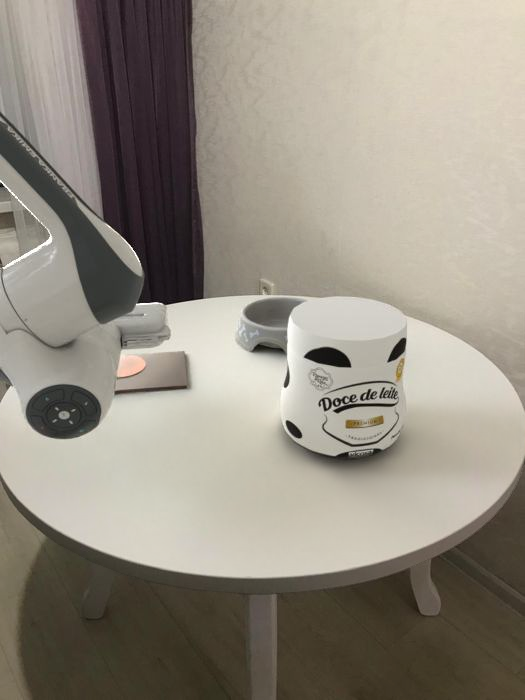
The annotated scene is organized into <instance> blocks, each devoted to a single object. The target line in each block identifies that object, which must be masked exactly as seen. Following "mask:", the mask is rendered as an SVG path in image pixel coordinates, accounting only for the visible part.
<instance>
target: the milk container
mask: <svg viewBox="0 0 525 700" xmlns="http://www.w3.org/2000/svg"><path fill="white" fill-rule="evenodd" d="M407 318H408V317H406V316H405V314H404V313H403V312H402V311H401V310H400V309H398V308H396V307H394V306H393V305H390V304H389V303H385V302H382V301H379V300H375V299H372V298H365V297H357V296H336V295H335V296H325V297H317V298H314V299H313V298H312V299H310V300H308V301H306V302H303V303H301V304H300V305H298V306H296V307H295V308H294V309H293V310H292V312H291V314H290V317H289V322H288V330H287V336H288V343H287V355H286V356H287V361H286V362H287V366H286V368H287V369H286V375H285V379H284V382H283V385H282V387H281V390H280V391H281V392H280V395H279V411H280V412H279V413H280V419H281V422H282V426H283V428H284V430H285V432H286V434H287V435H288V437H289V438H290V439H291V440H292V441H293V442H294V443H296V444H297V445H298V446H300V447H301V448H303V449H306V450H307V451H310V452H312V453H313V454H317V455H319V456H325V457H328V458H333V459H351V460H354V459H359V458H366V457H371V456H374V455H377V454H379V453H381V452H383V451H385V450H387V449H389V448H390V447H391V446H392V445H393V444H394V443H395V442H396V441H397V439H398V438H399V436H400V434H401V432H402V429H403V426H404V424H405V419H406V413H407V399H406V395H405V389H404V369H405V364H406V358H407V357H406V355H407V340H408V319H407Z"/></svg>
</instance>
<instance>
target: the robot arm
mask: <svg viewBox="0 0 525 700" xmlns="http://www.w3.org/2000/svg"><path fill="white" fill-rule="evenodd" d="M0 183H2V185H3V186H4V187H5V188H6V189H7V190H8V191H9V192H10V193H11V194H12V195H13V196H14V197H15V198H16V199H17V200H18V201H19V202H20V203H21V204H22V206H24V208H25V209H27V210H28V212H29V213H30V214H31V215H33V216H34V218H35V219H36V220H37V221H38V222H39V223H40V224H41V225H42V226H43V227H44V228H45V229H46V230H47V231H48V233H49V234H50V235H49V236H50V237H49V238H48V239H47V240H46V241H45V242H44V243H42V244H41V245H38V246H37V247H35V248H34V249H32V250H30V251H29V252H27V253H25V254H24V255H22V256H21V257H19V258H17V259H15V260H13V261H12V262H10V263H9V264H5V265H3V266H2V267H0V381H2V382H3V383H5V384H7V385H8V386H11V387H13V388H14V389H15V393H16V395H17V397H18V401H19V405H20V409H21V414H22V417H23V418H24V420H25V422H26V423H27V424H28V425H29V427H30V428H31V429H32V430H33V431H35V433H37V434H39V435H41V436H43V437H46V438H49V439H55V440H71V439H76V438H80V437H83V436H85V435H87V434H88V433H91V432H92V431H94V430H95V429H96V428H97V427H99V425H100V424H102V422H103V421H104V420H105V418H106V416H107V415H108V413H109V411H110V409H111V406H112V403H113V401H114V397H115V394H114V393H115V387H116V381H117V369H118V366H119V361H120V355H122V354H121V353H122V351H126V350H141V349H144V350H145V349H153V348H157V347H159V346H161V345H162V344H163V343H164V341H169V340H170V338H171V335H172V333H171V332H172V331H171V328H170V327H169V316H168V306H167V305H166V304H163V303H161V302H150V303H138V302H139V299H140V297H141V294H142V290H143V287H144V282H145V276H146V275H145V272H144V269H143V267H142V264H141V261H140V260H139V257H138V255H137V253H136V252H135V251H134V250H133V247H131V245H130V244H129V243H128V242H127V241H126V239H125V238H124V237H123V236H121V234H119V233H118V232H117V231H115V229H114V228H112V227H111V226H110V224H108V223H107V222H106V221H105V220H104V219H103V217H101V216H100V215H99V214H97V213H96V211H94V210H93V208H92V207H90V206H89V205H88V204H87V202H86V201H85V200H83V198H82V197H81V196H80V195H79V194H78V193H77V192H76V191H75V190H74V188H73V187H71V185H70V184H69V183H68V182H67V181H66V180H65V179H64V178H63V176H61V175H60V174H59V173H58V172H57V170H56V169H55V168H54V167H53V166H52V165H51V164H50V163H49V162H48V161H47V159H46V158H45V157H44V155H42V154H41V153H40V151H38V150H37V149H36V148H35V146H34V145H33V144H32V143H31V142H30V141H29V139H27V138H26V136H24V135H23V134H22V133H21V131H19V130H18V128H17V127H16V126H15V125H14V124H13V123H12V122H11V121H10V120H9V119H8V118H7V117H6V116H5V115H4V113H2V112H1V111H0Z"/></svg>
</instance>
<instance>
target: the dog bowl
mask: <svg viewBox="0 0 525 700" xmlns="http://www.w3.org/2000/svg"><path fill="white" fill-rule="evenodd" d="M306 301H309V300H308V299H305V298H299V297H291V296H274V297H273V296H272V297H265V298H261V299H257V300H253V301H251V302H249V303H247V304H246V305H244V306H243V307H242V309H241V311H240V314H239V318H238V322H237V328H236V331H235V335H234V337H235V342H236V343H237V344H238V345H239V346H240V347H241V348H242V349H244V351H247V352H249V353H250V352H251V353H252V352H253V350H254V349H255V347H256V346H257V345H261V346H264V347H268V348H273V349H282V350H283V351H284V353H285V355H286V356H287V343H288V336H287V330H288V322H289V317H290V314H291V312H292V310H293V309H294V308H295V307H296V306H298V305H300V304H301V303H303V302H306Z"/></svg>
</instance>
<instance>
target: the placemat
mask: <svg viewBox="0 0 525 700" xmlns="http://www.w3.org/2000/svg"><path fill="white" fill-rule="evenodd" d="M181 389H185V390H186V389H188V379H187V367H186V354H185V350H179V351H177V350H176V351H165V352H164V351H163V352H149V353H135V354H120V361H119V366H118V369H117V381H116V387H115V393H114V395H116V394H117V395H118V394H119V395H120V394H131V393H144V392H157V391H158V392H159V391H170V390H181Z"/></svg>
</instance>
